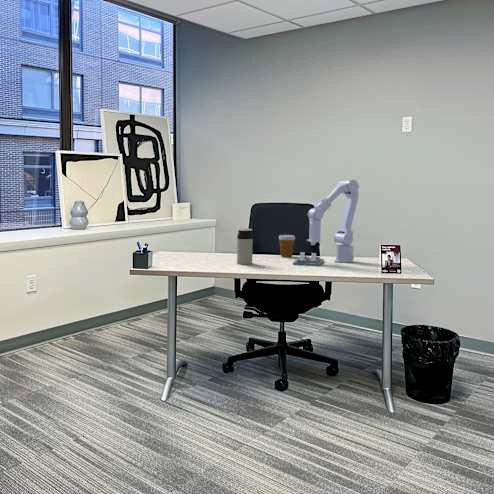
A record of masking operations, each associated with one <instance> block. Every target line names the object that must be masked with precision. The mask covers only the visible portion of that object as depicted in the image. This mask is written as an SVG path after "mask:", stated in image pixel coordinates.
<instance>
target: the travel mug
mask: <svg viewBox="0 0 494 494" xmlns="http://www.w3.org/2000/svg"><path fill="white" fill-rule="evenodd" d="M237 231H238V233H237V235H236V238H237V239H236V241H237V242H236V244H237V245H236V263H237V264H239V265H243V266H245V265H251V264H253V242H254V240H253V234H252V231H253V228H237Z"/></svg>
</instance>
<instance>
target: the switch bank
mask: <svg viewBox="0 0 494 494" xmlns="http://www.w3.org/2000/svg"><path fill="white" fill-rule="evenodd" d="M324 259H325V258H321V256H316V261H311V257H310V256H305V260H300V257H297V258H296V259H295V260H294V261H293V262H292V265H293V266H303V265H306V266H308V267H321V266H322V264H323V263H324Z"/></svg>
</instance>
